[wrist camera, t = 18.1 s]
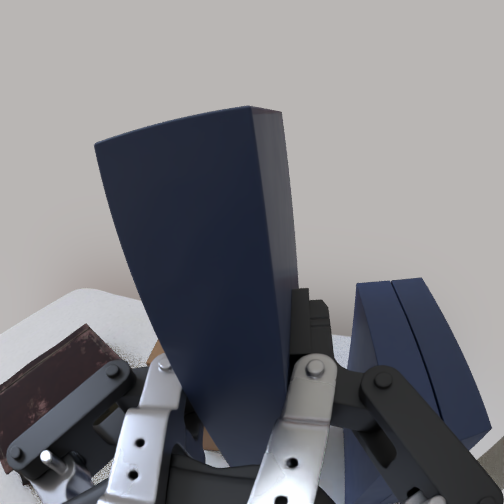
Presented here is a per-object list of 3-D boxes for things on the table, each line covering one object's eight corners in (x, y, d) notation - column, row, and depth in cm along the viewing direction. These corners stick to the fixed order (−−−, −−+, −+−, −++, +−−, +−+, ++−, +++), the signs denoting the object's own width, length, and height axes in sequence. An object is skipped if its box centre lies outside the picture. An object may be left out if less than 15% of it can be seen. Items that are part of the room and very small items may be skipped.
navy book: (300, 328, 23) (281, 111, 16) (294, 489, 11) (251, 104, 4) (268, 329, 24) (236, 117, 16) (244, 487, 12) (92, 143, 4)
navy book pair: (387, 395, 28) (421, 277, 20) (401, 501, 15) (492, 428, 8) (341, 401, 29) (356, 283, 21) (344, 511, 16) (393, 458, 9)
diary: (0, 411, 26) (-18, 391, 24) (96, 341, 43) (83, 319, 41) (30, 492, 15) (4, 476, 13) (154, 397, 32) (138, 374, 30)
